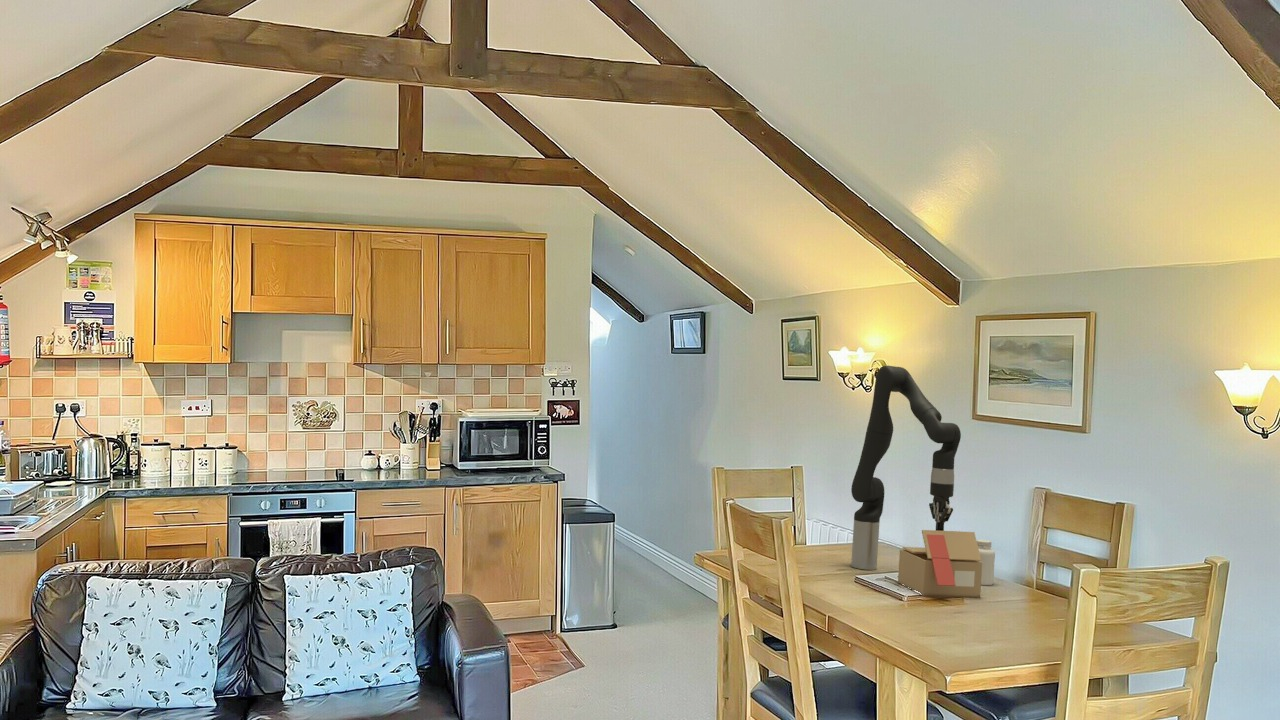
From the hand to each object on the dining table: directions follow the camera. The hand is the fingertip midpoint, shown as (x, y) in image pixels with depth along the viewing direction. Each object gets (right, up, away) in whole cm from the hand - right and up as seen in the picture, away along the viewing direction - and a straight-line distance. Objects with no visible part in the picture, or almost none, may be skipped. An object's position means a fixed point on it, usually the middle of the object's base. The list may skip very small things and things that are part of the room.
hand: (939, 533), depth 326 cm
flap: (+1, -6, -12) cm, 13 cm away
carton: (-1, -19, -2) cm, 19 cm away
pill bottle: (+19, -21, +15) cm, 32 cm away
